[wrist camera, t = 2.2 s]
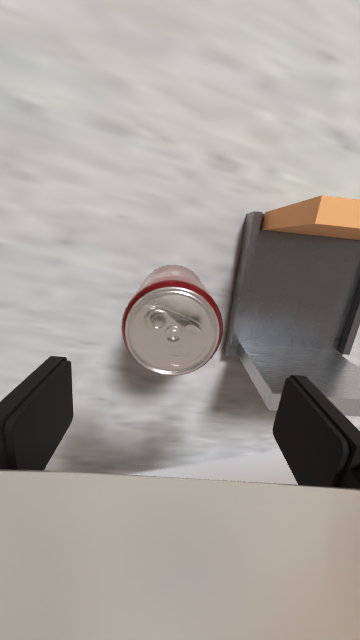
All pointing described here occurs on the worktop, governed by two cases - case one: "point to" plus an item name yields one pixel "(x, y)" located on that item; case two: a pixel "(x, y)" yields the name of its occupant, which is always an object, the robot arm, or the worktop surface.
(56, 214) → the worktop surface
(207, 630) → the robot arm
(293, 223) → the sliding jaw
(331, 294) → the clamp bed
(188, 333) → the soda can
